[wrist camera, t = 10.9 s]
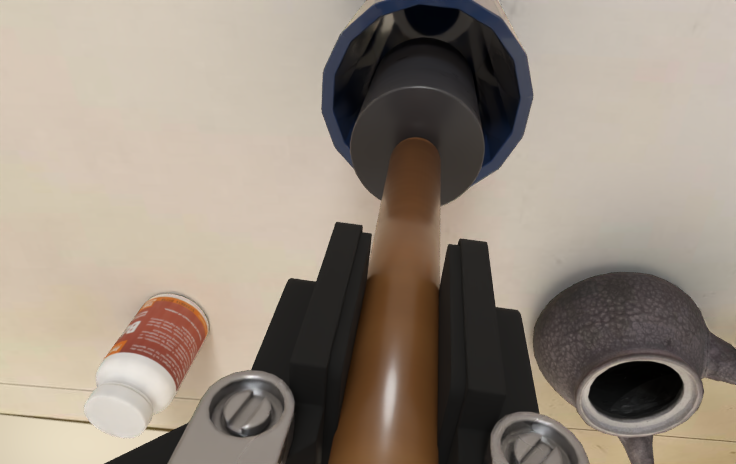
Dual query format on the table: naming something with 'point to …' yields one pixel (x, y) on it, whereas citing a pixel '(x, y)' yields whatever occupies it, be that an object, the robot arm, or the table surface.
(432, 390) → the mallet
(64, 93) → the table surface
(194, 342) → the pill bottle
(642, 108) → the table surface
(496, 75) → the cup
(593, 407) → the teapot
